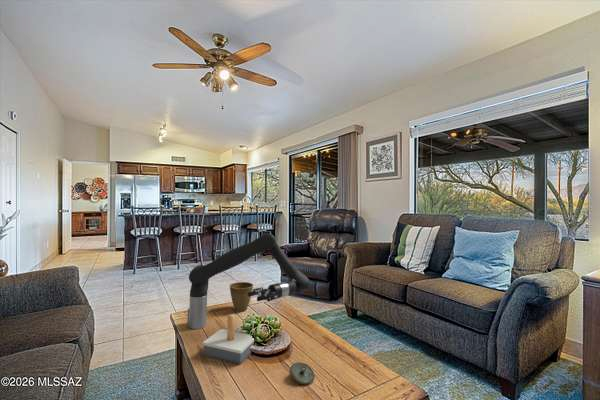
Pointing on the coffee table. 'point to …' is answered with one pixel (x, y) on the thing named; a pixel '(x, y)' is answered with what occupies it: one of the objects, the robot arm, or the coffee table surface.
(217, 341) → the tub lid
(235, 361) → the parts tub
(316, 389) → the coffee table surface
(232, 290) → the plant pot
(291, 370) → the lid
